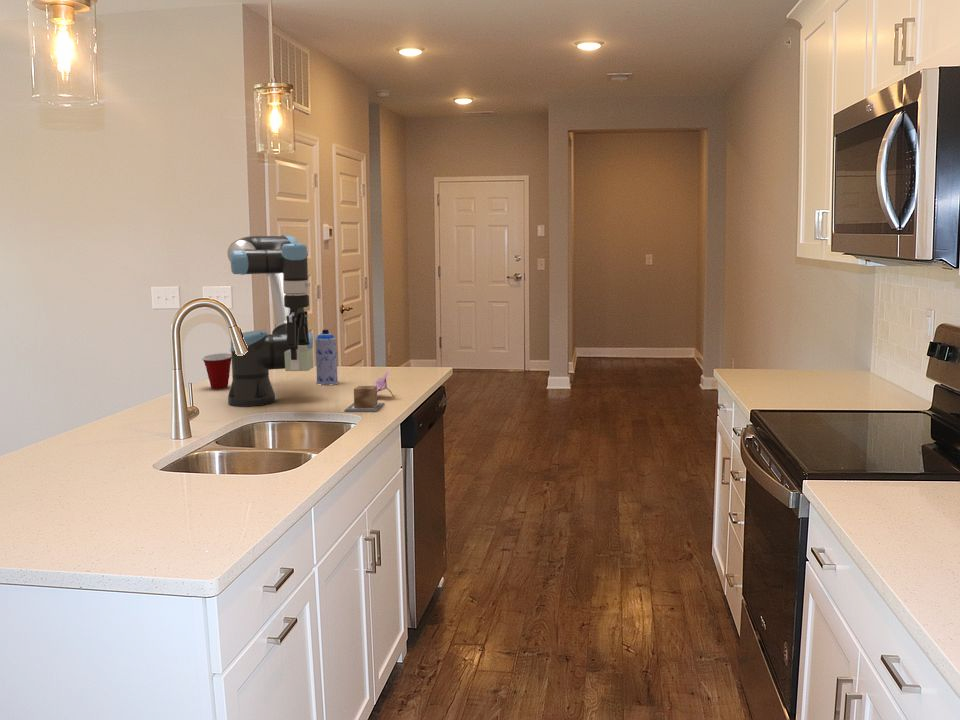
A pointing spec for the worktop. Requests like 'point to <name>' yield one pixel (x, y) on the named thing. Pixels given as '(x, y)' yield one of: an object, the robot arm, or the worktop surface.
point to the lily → (382, 383)
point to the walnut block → (365, 396)
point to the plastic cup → (218, 369)
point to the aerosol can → (326, 358)
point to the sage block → (305, 360)
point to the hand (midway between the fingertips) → (299, 367)
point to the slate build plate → (352, 409)
